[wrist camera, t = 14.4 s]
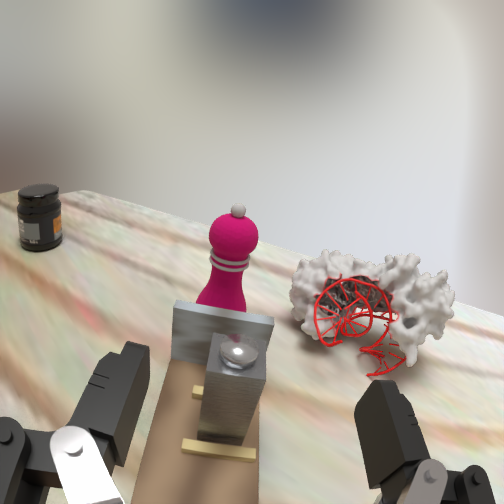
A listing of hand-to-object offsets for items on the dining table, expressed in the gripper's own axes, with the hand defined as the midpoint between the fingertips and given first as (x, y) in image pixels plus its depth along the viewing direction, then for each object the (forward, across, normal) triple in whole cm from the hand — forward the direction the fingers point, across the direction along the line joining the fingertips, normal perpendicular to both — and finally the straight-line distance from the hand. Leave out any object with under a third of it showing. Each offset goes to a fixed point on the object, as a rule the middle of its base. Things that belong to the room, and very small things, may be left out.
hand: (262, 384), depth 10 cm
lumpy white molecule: (+29, -20, +23) cm, 42 cm away
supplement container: (+44, +44, +24) cm, 66 cm away
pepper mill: (+28, +2, +23) cm, 36 cm away
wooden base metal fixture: (+10, +1, +22) cm, 24 cm away
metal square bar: (+10, 0, +20) cm, 23 cm away
